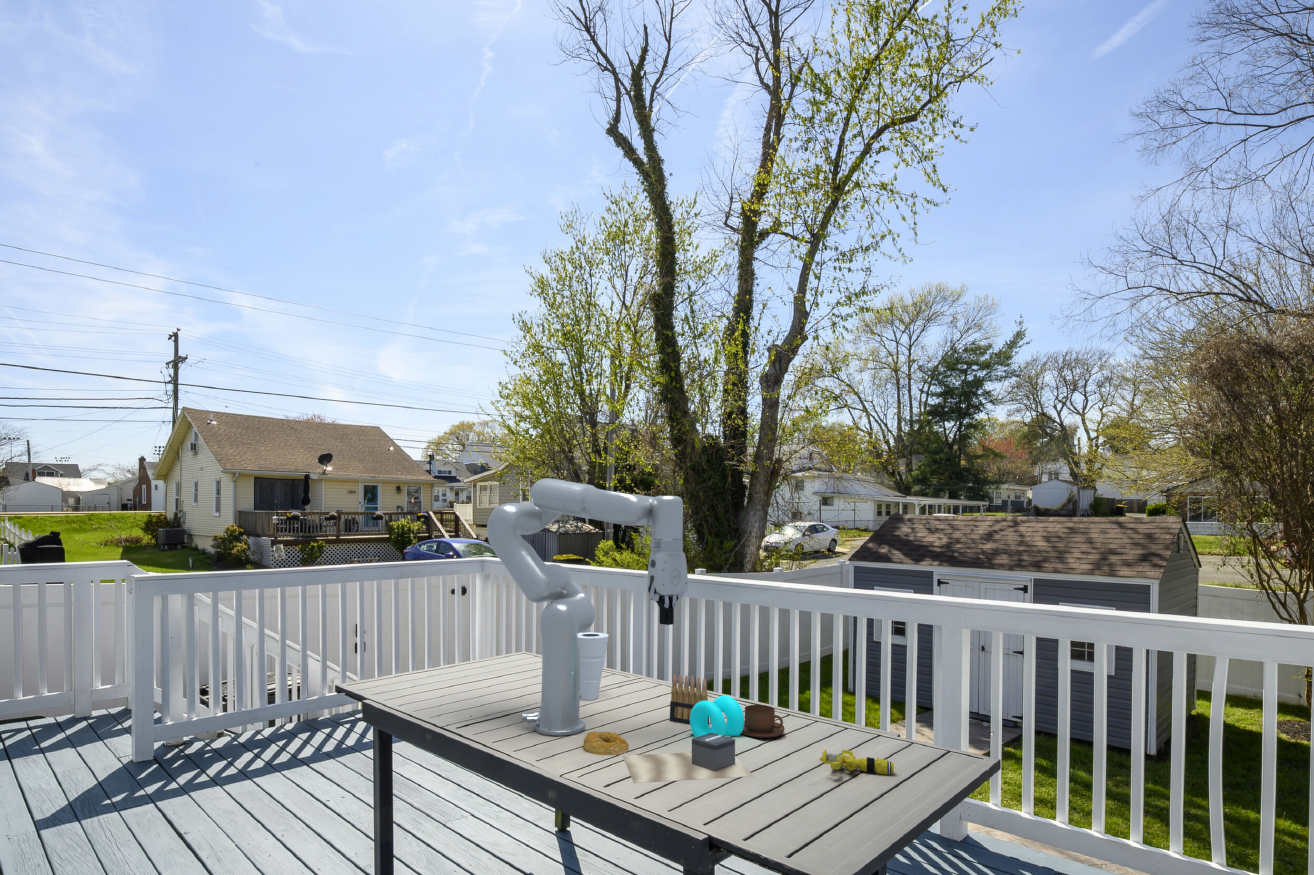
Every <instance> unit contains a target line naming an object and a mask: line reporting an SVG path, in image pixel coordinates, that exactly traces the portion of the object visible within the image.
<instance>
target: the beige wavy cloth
mask: <svg viewBox="0 0 1314 875" xmlns="http://www.w3.org/2000/svg"><path fill="white" fill-rule="evenodd" d="M622 758H623V760H624V763H625V765H626V767H627V768H626V769H627V770H628V773H629V774H630V777H631V779H632V782H633V784H638V783H639V784H641V783H643V784H644V783H658V782H660V783H661V782H675V781H676V782H678V781H695V780H707V779H708V780H712V779H725V778H744V777H754V775H753V774H752V772H751V771H749V770H748V768H747V767H746V766H745V765H744V764H743V762H742V761H740V759H739V758H738V757H737V756H736V755H735V764H734V765H731V766H729V767H726V768H724V769H721V770H718V771H716V772H715V771H712V770H709V769H706V768H703V767H700V766H697V765H694V764H692V751H688V752H671V753H670V752H669V753H656V754H655V753H651V754H631V755H630V754H629V755H628V754H627V755H622Z"/></svg>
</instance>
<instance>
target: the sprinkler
mask: <svg viewBox="0 0 1314 875" xmlns="http://www.w3.org/2000/svg"><path fill="white" fill-rule="evenodd" d="M844 754H849V756H846V755H844ZM819 761H820V762H822V763H823V764H824V765H825V764H827V765H830V769H832V770H839V769H841V767H842V768H843V770H848V771H851V772H853V771H854V770H856V769H858V770H860V771H862V772H866V773H867V774H873V773H876V774H877V775H883V774H886V775H885V776H888V775H894V774H895V771H894V769H895V763H894V762H892V761H889V760H888V759H885V758H879V757H877V758H876V759H875V758H874V757H869V756H867V757H860V758H856V756H855V755H854V752H853V750H847V749H841V754H839V755H837V753H829V752H827V748H826V749H824V750H823V751H822V755H821V756H820V757H819Z"/></svg>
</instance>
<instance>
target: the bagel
mask: <svg viewBox="0 0 1314 875" xmlns="http://www.w3.org/2000/svg"><path fill="white" fill-rule="evenodd" d="M629 746H630V745H629V743H628V741H627V740H626V739H625V738H623V737H622V736H621V735H620V734H619V733H617V732H611V731H596V730H595V731H589V732H588V733H587V734H586V736H584V739H583V746H582V747H583V750H584V751H586V752H587V753H590V754H593V755H596V756H618V755H622V754H625V753H628V752H629Z"/></svg>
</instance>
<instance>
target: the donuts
mask: <svg viewBox="0 0 1314 875" xmlns="http://www.w3.org/2000/svg"><path fill="white" fill-rule="evenodd" d="M723 713H724V714H723ZM724 715H725V717H726V720H725V717H724ZM708 717H709V725H708V723H707V718H708ZM744 721H745V713H744V711H743V709H742V706H741V704H740V703H739V702H738V701H737V700H736V699H735V698H733V697H732V696H729V695H721V696H718V697H716V698H715V699H714V700H713V701H710V700H708V701H706V700H704V701H700V702H698V703H697V704H695V706H694V707H693V709H692V711H691V714H690V725H689V726H690V730H691V733H692V734H693V736H694V738H696V737H699V736H702V735H705V734H708V733H715V734H719V735H722V736H726V737H740V735H741V734H742V733H741V732H742V730H743V728H744ZM710 725H711V726H710Z"/></svg>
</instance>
